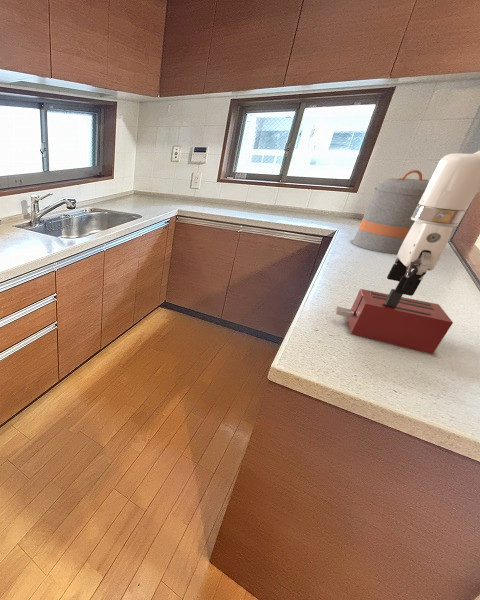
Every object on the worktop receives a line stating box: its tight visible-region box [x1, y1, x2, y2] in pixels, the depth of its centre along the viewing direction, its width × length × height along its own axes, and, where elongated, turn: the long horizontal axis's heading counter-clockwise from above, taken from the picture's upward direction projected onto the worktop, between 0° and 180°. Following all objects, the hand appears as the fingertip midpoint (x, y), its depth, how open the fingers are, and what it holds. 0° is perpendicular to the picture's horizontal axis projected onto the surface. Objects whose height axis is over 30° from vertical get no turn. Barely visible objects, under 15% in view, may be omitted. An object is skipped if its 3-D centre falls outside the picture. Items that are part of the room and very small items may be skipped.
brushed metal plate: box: [335, 306, 354, 318], centre depth 89 cm, size 4×3×1 cm
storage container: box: [352, 169, 430, 255], centre depth 150 cm, size 22×22×35 cm
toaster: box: [347, 288, 454, 355], centre depth 84 cm, size 16×11×9 cm
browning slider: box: [385, 288, 404, 308], centre depth 80 cm, size 2×2×4 cm
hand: (398, 286), depth 78 cm, fingers open, 9 cm apart
